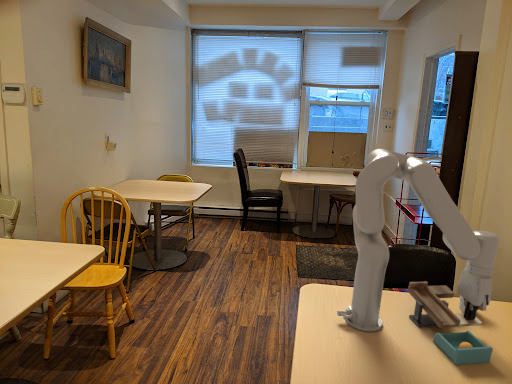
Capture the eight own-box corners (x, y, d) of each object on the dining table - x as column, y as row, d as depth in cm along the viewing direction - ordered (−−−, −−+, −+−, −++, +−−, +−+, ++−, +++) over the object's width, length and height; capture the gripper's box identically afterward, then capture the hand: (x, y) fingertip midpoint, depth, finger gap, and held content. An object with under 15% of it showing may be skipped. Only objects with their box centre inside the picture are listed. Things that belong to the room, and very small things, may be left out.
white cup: (480, 316, 138) (484, 299, 136) (460, 313, 139) (463, 296, 137) (473, 306, 144) (477, 290, 142) (454, 303, 145) (458, 287, 144)
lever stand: (418, 327, 129) (421, 307, 127) (408, 317, 134) (412, 298, 133) (449, 325, 131) (453, 306, 129) (438, 315, 136) (442, 297, 135)
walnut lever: (439, 327, 121) (442, 317, 120) (407, 291, 140) (409, 282, 139) (481, 325, 124) (484, 315, 123) (444, 289, 142) (447, 280, 141)
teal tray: (455, 364, 111) (458, 350, 110) (433, 341, 121) (435, 328, 120) (489, 362, 113) (492, 348, 111) (464, 339, 123) (467, 326, 122)
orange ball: (462, 359, 113) (466, 350, 111) (454, 348, 117) (458, 339, 115) (474, 358, 114) (478, 349, 112) (465, 347, 117) (470, 338, 115)
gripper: (453, 259, 127) (444, 307, 132) (486, 279, 113) (475, 332, 117) (473, 258, 129) (463, 306, 133) (507, 278, 114) (496, 331, 119)
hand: (469, 318), depth 125 cm, fingers closed
